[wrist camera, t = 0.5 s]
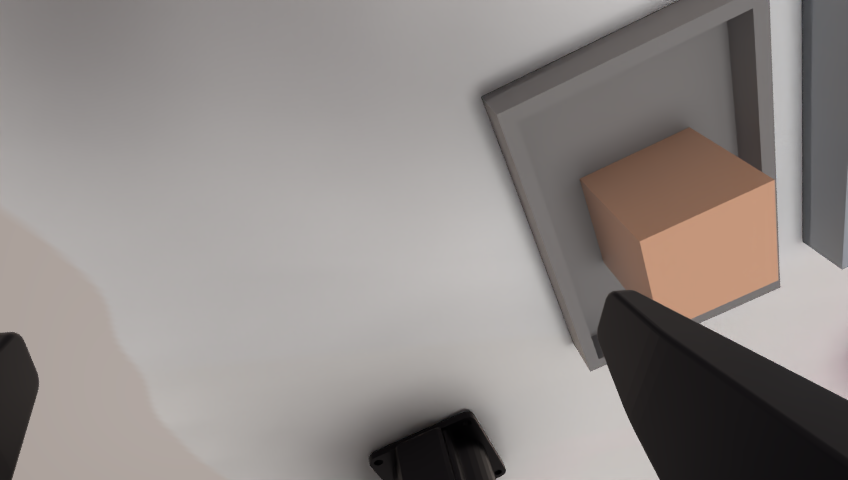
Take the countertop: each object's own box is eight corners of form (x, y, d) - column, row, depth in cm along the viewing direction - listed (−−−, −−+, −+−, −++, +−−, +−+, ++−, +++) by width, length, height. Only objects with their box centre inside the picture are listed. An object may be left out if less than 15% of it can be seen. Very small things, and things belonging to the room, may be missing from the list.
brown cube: (702, 217, 26) (778, 280, 22) (603, 262, 26) (660, 332, 22) (689, 127, 23) (774, 179, 19) (579, 178, 23) (639, 241, 19)
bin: (752, 264, 29) (779, 287, 27) (574, 344, 30) (590, 371, 28) (730, -25, 20) (768, -17, 19) (481, 97, 21) (496, 114, 19)
